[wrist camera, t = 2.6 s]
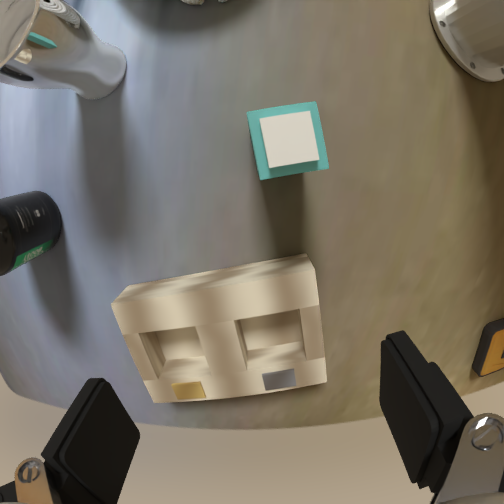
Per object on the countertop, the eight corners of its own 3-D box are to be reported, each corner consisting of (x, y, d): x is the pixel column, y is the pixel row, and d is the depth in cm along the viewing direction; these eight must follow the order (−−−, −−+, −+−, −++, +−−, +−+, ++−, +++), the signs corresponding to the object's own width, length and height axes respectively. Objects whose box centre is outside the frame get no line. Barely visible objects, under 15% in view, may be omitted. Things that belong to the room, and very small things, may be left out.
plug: (293, 122, 25) (318, 99, 15) (302, 165, 27) (331, 168, 16) (249, 129, 26) (246, 110, 15) (258, 173, 27) (260, 180, 17)
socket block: (305, 253, 29) (315, 270, 24) (319, 356, 32) (327, 383, 28) (128, 285, 30) (109, 305, 25) (163, 377, 33) (153, 404, 29)
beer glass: (123, 104, 25) (21, 70, 10) (65, 105, 24) (-42, 87, 10) (137, 38, 23) (58, -33, 8) (79, 44, 22) (-13, -3, 8)
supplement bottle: (70, 243, 29) (-3, 285, 17) (29, 255, 29) (-40, 295, 18) (54, 181, 27) (-27, 199, 15) (14, 200, 27) (-61, 222, 16)
